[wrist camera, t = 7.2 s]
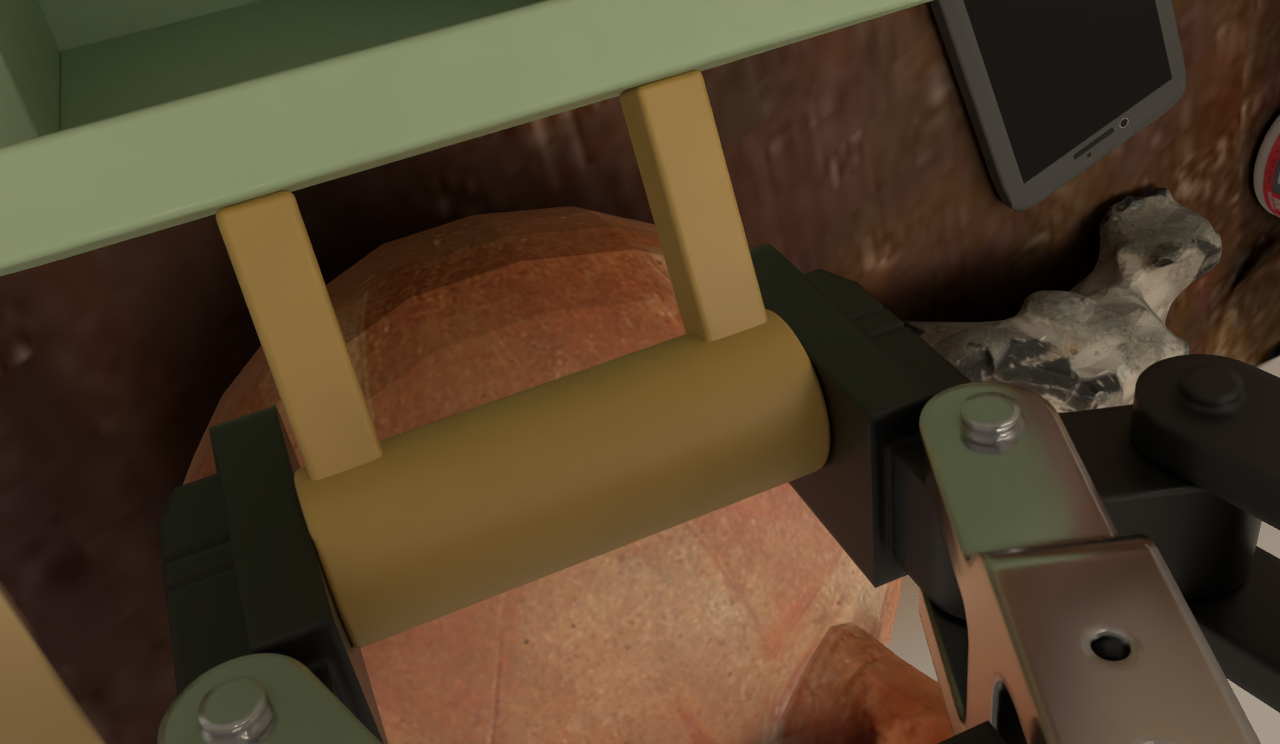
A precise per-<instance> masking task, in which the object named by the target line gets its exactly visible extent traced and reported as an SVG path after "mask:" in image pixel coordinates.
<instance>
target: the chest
mask: <svg viewBox="0 0 1280 744" xmlns="http://www.w3.org/2000/svg"><path fill="white" fill-rule="evenodd" d="M541 1H545V0H0V147H2V146H6V145H10V144H13V143H17V142H21V141H25V140H28V139H32V138H36V137H39V136H43V135H47V134H51V133H54V132H58V131H62V130H65V129H69V128H73V127H77V126H80V125H84V124H88V123H91V122H95V121H99V120H103V119H106V118H110V117H114V116H117V115H121V114H125V113H129V112H132V111H136V110H140V109H143V108H147V107H151V106H155V105H158V104H162V103H166V102H170V101H173V100H177V99H181V98H184V97H188V96H192V95H196V94H199V93H203V92H207V91H210V90H214V89H218V88H222V87H225V86H229V85H233V84H236V83H240V82H244V81H248V80H251V79H255V78H259V77H262V76H266V75H270V74H274V73H277V72H281V71H285V70H289V69H292V68H296V67H300V66H303V65H307V64H311V63H315V62H318V61H322V60H326V59H329V58H333V57H337V56H341V55H344V54H348V53H352V52H355V51H359V50H363V49H367V48H370V47H374V46H378V45H381V44H385V43H389V42H393V41H396V40H400V39H404V38H407V37H411V36H415V35H419V34H422V33H426V32H430V31H434V30H437V29H441V28H445V27H448V26H452V25H456V24H460V23H463V22H467V21H471V20H474V19H478V18H482V17H486V16H489V15H493V14H497V13H500V12H504V11H508V10H512V9H515V8H519V7H523V6H526V5H530V4H534V3H538V2H541Z"/></svg>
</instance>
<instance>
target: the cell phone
mask: <svg viewBox="0 0 1280 744" xmlns="http://www.w3.org/2000/svg"><path fill="white" fill-rule="evenodd" d="M930 5H931V8H932V11H933V14H934V16H935V19H936V22H937V25H938V28H939V31H940V34H941V36H942V39H943V42H944V45H945V48H946V51H947V54H948V56H949V59H950V62H951V65H952V68H953V71H954V74H955V77H956V79H957V82H958V85H959V88H960V91H961V94H962V97H963V99H964V102H965V105H966V108H967V111H968V114H969V117H970V120H971V122H972V125H973V128H974V131H975V134H976V137H977V140H978V142H979V145H980V148H981V151H982V154H983V157H984V160H985V163H986V165H987V168H988V171H989V174H990V177H991V179H992V182H993V184H994V186H995V188H996V191H997V193H998V195H999V197H1000V198H1001V200H1002V201H1003V202H1004V204H1005V205H1007V206H1008V207H1010V208H1012V209H1014V210H1016V211H1022V210H1026V209H1029V208H1030V207H1032V206H1034V205H1036V204H1038V203H1040V202H1041V201H1042V200H1044V199H1045V198H1047V197H1048V196H1049V195H1051V194H1052V193H1054V192H1055V191H1056V190H1058V189H1059V188H1061V187H1062V186H1064V185H1065V184H1066V183H1068V182H1069V181H1071V180H1072V179H1073V178H1075V177H1076V176H1078V175H1079V174H1080V173H1082V172H1083V171H1085V170H1086V169H1087V168H1089V167H1090V166H1092V165H1093V164H1094V163H1096V162H1097V161H1099V160H1100V159H1101V158H1103V157H1104V156H1106V155H1107V154H1109V153H1110V152H1111V151H1113V150H1114V149H1116V148H1117V147H1118V146H1120V145H1121V144H1123V143H1124V142H1125V141H1127V140H1128V139H1130V138H1131V137H1132V136H1134V135H1135V134H1137V133H1138V132H1139V131H1141V130H1142V129H1144V128H1145V127H1146V126H1148V125H1149V124H1151V123H1152V122H1154V121H1155V120H1156V119H1158V118H1159V117H1161V116H1162V115H1163V114H1165V113H1166V112H1167V111H1168V110H1169V109H1170V108H1171V107H1173V106H1174V105H1175V104H1176V103H1177V102H1178V101H1179V99H1180V98H1181V97H1182V96H1183V94H1184V90H1185V85H1186V78H1187V75H1186V70H1185V64H1184V59H1183V53H1182V48H1181V43H1180V38H1179V34H1178V29H1177V24H1176V19H1175V14H1174V10H1173V5H1172V0H933V1H930Z"/></svg>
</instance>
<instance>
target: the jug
mask: <svg viewBox="0 0 1280 744" xmlns="http://www.w3.org/2000/svg"><path fill="white" fill-rule="evenodd" d="M326 288H327V291H328V294H329V297H330V300H331V302H332V305H333V308H334V311H335V314H336V317H337V320H338V323H339V325H340V328H341V331H342V334H343V337H344V340H345V343H346V346H347V349H348V351H349V354H350V357H351V360H352V363H353V366H354V369H355V372H356V374H357V377H358V380H359V383H360V386H361V389H362V392H363V395H364V398H365V400H366V403H367V406H368V409H369V412H370V415H371V418H372V421H373V423H374V426H375V429H376V432H377V435H378V438H379V441H380V440H383V439H386V438H389V437H391V436H394V435H397V434H400V433H403V432H406V431H409V430H412V429H414V428H417V427H420V426H423V425H426V424H429V423H432V422H434V421H437V420H440V419H443V418H446V417H449V416H452V415H455V414H457V413H460V412H463V411H466V410H469V409H472V408H475V407H478V406H480V405H483V404H486V403H489V402H492V401H495V400H498V399H501V398H503V397H506V396H509V395H512V394H515V393H518V392H521V391H523V390H526V389H529V388H532V387H535V386H538V385H541V384H544V383H546V382H549V381H552V380H555V379H558V378H561V377H564V376H567V375H569V374H572V373H575V372H578V371H581V370H584V369H587V368H590V367H592V366H595V365H598V364H601V363H604V362H607V361H610V360H612V359H615V358H618V357H621V356H624V355H627V354H630V353H633V352H635V351H638V350H641V349H644V348H647V347H650V346H653V345H656V344H658V343H661V342H664V341H667V340H670V339H673V338H676V337H679V336H681V335H684V334H686V332H685V329H684V325H683V322H682V318H681V315H680V311H679V308H678V304H677V301H676V297H675V294H674V290H673V286H672V283H671V279H670V276H669V272H668V269H667V265H666V262H665V258H664V255H663V251H662V248H661V244H660V241H659V237H658V234H657V230H656V227H655V224H651V223H646V222H642V221H637V220H633V219H628V218H623V217H619V216H614V215H610V214H605V213H601V212H596V211H591V210H587V209H582V208H578V207H573V206H566V207H555V208H544V209H533V210H522V211H511V212H500V213H489V214H477V215H472V216H469V217H466V218H463V219H460V220H457V221H453V222H450V223H447V224H444V225H441V226H438V227H435V228H431V229H428V230H425V231H422V232H419V233H416V234H412V235H409V236H406V237H403V238H400V239H397V240H394V241H390V242H387V243H384V244H382V245H380V246H379V247H378V248H376V249H375V250H374V251H372V252H371V253H369V254H368V255H367V256H365V257H364V258H363V259H361V260H360V261H358V262H357V263H356V264H354V265H353V266H352V267H350V268H349V269H347V270H346V271H345V272H343V273H342V274H340V275H339V276H338V277H336V278H335V279H334V280H332V281H331V282H329V283H328V284H327V285H326ZM274 405H276V407H277V409H278V411H279V414H280V416H281V418H282V421H283V424H284V426H285V429H286V431H287V434H288V436H289V439H290V442H291V444H292V447H293V449H294V452H295V455H296V457H297V460H298V462H299V465H300V467H301V468H302V467H305V464H304V461H303V458H302V455H301V453H300V450H299V447H298V444H297V442H296V439H295V436H294V433H293V431H292V428H291V425H290V422H289V420H288V417H287V414H286V411H285V409H284V406H283V403H282V400H281V398H280V395H279V392H278V389H277V387H276V384H275V381H274V378H273V376H272V373H271V370H270V367H269V364H268V362H267V359H266V356H265V353H264V351H263V348H262V345H261V346H260V348H259V349H258V350H257V351H256V353H255V354H254V355H253V357H252V358H251V359H250V360H249V362H248V363H247V364H246V366H245V367H244V368H243V369H242V371H241V372H240V373H239V375H238V376H237V377H236V378H235V380H234V381H233V382H232V384H231V385H230V386H229V387H228V389H227V390H226V391H225V393H224V394H223V395H222V397H221V399H220V401H219V403H218V405H217V407H216V410H215V412H214V414H213V416H212V418H211V420H210V422H209V424H208V427H207V429H206V431H205V433H204V435H203V437H202V439H201V442H200V444H199V446H198V448H197V450H196V452H195V454H194V457H193V459H192V462H191V464H190V467H189V470H188V472H187V475H186V477H185V480H184V482H183V485H184V484H187V483H190V482H193V481H196V480H199V479H202V478H205V477H208V476H211V475H214V474H217V471H216V465H215V460H214V455H213V449H212V444H211V439H210V433H209V427H211V426H214V425H217V424H220V423H223V422H226V421H229V420H232V419H235V418H238V417H241V416H244V415H247V414H250V413H253V412H256V411H259V410H262V409H265V408H268V407H271V406H274ZM901 584H902V577H901V578H898V579H896V580H894V581H891V582H889V583H886V584H884V585H882V586H879V587H877V588H875V587H874V586H873V585H872V584H871V582H870V581H869V580H868V579H867V578H866V576H865V575H864V574H863V573H862V571H861V570H860V569H859V568H858V567H857V565H856V564H855V563H854V562H853V560H852V559H851V558H850V557H849V556H848V554H847V553H846V552H845V551H844V550H843V548H842V547H841V546H840V545H839V543H838V542H837V541H836V540H835V539H834V537H833V536H832V535H831V534H830V533H829V531H828V530H827V529H826V528H825V526H824V525H823V524H822V523H821V522H820V520H819V519H818V518H817V517H816V516H815V514H814V513H813V512H812V511H811V509H810V508H809V507H808V506H807V505H806V503H805V502H804V501H803V500H802V498H801V497H800V496H799V495H798V494H797V492H796V491H795V490H794V489H793V488H792V486H791V485H790V484H789V483H785V484H782V485H780V486H777V487H775V488H772V489H770V490H767V491H764V492H762V493H759V494H757V495H754V496H752V497H749V498H746V499H744V500H741V501H739V502H736V503H733V504H731V505H728V506H726V507H723V508H721V509H718V510H715V511H713V512H710V513H708V514H705V515H703V516H700V517H697V518H695V519H692V520H690V521H687V522H685V523H682V524H679V525H677V526H674V527H672V528H669V529H667V530H664V531H661V532H659V533H656V534H654V535H651V536H649V537H646V538H643V539H641V540H638V541H636V542H633V543H631V544H628V545H625V546H623V547H620V548H618V549H615V550H613V551H610V552H607V553H605V554H602V555H600V556H597V557H594V558H592V559H589V560H587V561H584V562H582V563H579V564H576V565H574V566H571V567H569V568H566V569H564V570H561V571H558V572H556V573H553V574H551V575H548V576H546V577H543V578H540V579H538V580H535V581H533V582H530V583H528V584H525V585H522V586H520V587H517V588H515V589H512V590H510V591H507V592H504V593H502V594H499V595H497V596H494V597H492V598H489V599H486V600H484V601H481V602H479V603H476V604H474V605H471V606H468V607H466V608H463V609H461V610H458V611H456V612H453V613H450V614H448V615H445V616H443V617H440V618H437V619H435V620H432V621H430V622H427V623H425V624H422V625H419V626H417V627H414V628H412V629H409V630H407V631H404V632H401V633H399V634H396V635H394V636H391V637H389V638H386V639H383V640H381V641H378V642H376V643H373V644H371V645H368V646H365V647H363V648H360V649H361V652H362V656H363V659H364V663H365V666H366V670H367V673H368V676H369V680H370V683H371V687H372V690H373V693H374V697H375V700H376V704H377V707H378V710H379V714H380V717H381V721H382V724H383V728H384V731H385V734H386V738H387V741H388V744H937V743H939V742H942V741H944V740H946V739H948V738H950V737H953V736H954V735H953V731H952V728H951V724H950V721H949V717H948V714H947V710H946V707H945V703H944V700H943V696H942V693H941V689H940V686H939V683H938V682H937V681H935V680H933V679H931V678H930V677H928V676H927V675H925V674H924V673H922V672H920V671H919V670H918V669H916V668H915V667H913V666H912V665H910V664H908V663H907V662H905V661H904V660H902V659H901V658H899V657H898V656H897V655H895V654H894V653H893V652H892V651H891V650H889V649H888V648H887V647H886V646H887V644H888V642H889V640H890V636H891V632H892V628H893V624H894V620H895V616H896V612H897V608H898V604H899V598H900V590H901Z"/></svg>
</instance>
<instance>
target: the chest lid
mask: <svg viewBox="0 0 1280 744" xmlns="http://www.w3.org/2000/svg"><path fill="white" fill-rule="evenodd" d="M930 1H933V0H545V1H541V2H538V3H534V4H530V5H526V6H523V7H519V8H515V9H512V10H508V11H504V12H500V13H497V14H493V15H489V16H486V17H482V18H478V19H474V20H471V21H467V22H463V23H460V24H456V25H452V26H448V27H445V28H441V29H437V30H434V31H430V32H426V33H422V34H419V35H415V36H411V37H407V38H404V39H400V40H396V41H393V42H389V43H385V44H381V45H378V46H374V47H370V48H367V49H363V50H359V51H355V52H352V53H348V54H344V55H341V56H337V57H333V58H329V59H326V60H322V61H318V62H315V63H311V64H307V65H303V66H300V67H296V68H292V69H289V70H285V71H281V72H277V73H274V74H270V75H266V76H262V77H259V78H255V79H251V80H248V81H244V82H240V83H236V84H233V85H229V86H225V87H222V88H218V89H214V90H210V91H207V92H203V93H199V94H196V95H192V96H188V97H184V98H181V99H177V100H173V101H170V102H166V103H162V104H158V105H155V106H151V107H147V108H143V109H140V110H136V111H132V112H129V113H125V114H121V115H117V116H114V117H110V118H106V119H103V120H99V121H95V122H91V123H88V124H84V125H80V126H77V127H73V128H69V129H65V130H62V131H58V132H54V133H51V134H47V135H43V136H39V137H36V138H32V139H28V140H25V141H21V142H17V143H13V144H10V145H6V146H2V147H0V276H3V275H7V274H11V273H14V272H18V271H22V270H25V269H29V268H33V267H36V266H40V265H44V264H47V263H50V262H54V261H57V260H61V259H64V258H67V257H71V256H74V255H78V254H81V253H84V252H88V251H91V250H95V249H98V248H102V247H105V246H108V245H112V244H115V243H119V242H122V241H125V240H129V239H132V238H136V237H139V236H142V235H146V234H149V233H153V232H156V231H159V230H163V229H166V228H170V227H173V226H177V225H180V224H183V223H187V222H190V221H194V220H197V219H200V218H204V217H207V216H211V215H214V214H216V221H217V224H218V227H219V229H220V232H221V235H222V238H223V240H224V243H225V246H226V249H227V251H228V254H229V257H230V260H231V263H232V265H233V268H234V271H235V274H236V276H237V279H238V282H239V285H240V287H241V290H242V293H243V296H244V298H245V301H246V304H247V307H248V309H249V312H250V315H251V318H252V320H253V323H254V326H255V329H256V331H257V334H258V337H259V340H260V342H261V345H262V348H263V351H264V353H265V356H266V359H267V362H268V364H269V367H270V370H271V373H272V376H273V378H274V381H275V384H276V387H277V389H278V392H279V395H280V398H281V400H282V403H283V406H284V409H285V411H286V414H287V417H288V420H289V422H290V425H291V428H292V431H293V433H294V436H295V439H296V442H297V444H298V447H299V450H300V453H301V455H302V458H303V461H304V464H305V467H302V468H300V469H298V470H297V471H296V472H295V473H294V483H295V488H296V492H297V495H298V499H299V502H300V506H301V509H302V512H303V516H304V519H305V522H306V525H307V528H308V531H309V534H310V536H311V539H312V542H313V545H314V548H315V551H316V554H317V557H318V560H319V562H320V565H321V568H322V571H323V574H324V577H325V579H326V582H327V585H328V588H329V590H330V593H331V596H332V598H333V601H334V604H335V606H336V609H337V612H338V614H339V617H340V619H341V622H342V624H343V626H344V629H345V631H346V633H347V636H348V638H349V640H350V641H351V643H352V644H353V645H354V646H355V647H356V648H363V647H365V646H368V645H371V644H373V643H376V642H378V641H381V640H383V639H386V638H389V637H391V636H394V635H396V634H399V633H401V632H404V631H407V630H409V629H412V628H414V627H417V626H419V625H422V624H425V623H427V622H430V621H432V620H435V619H437V618H440V617H443V616H445V615H448V614H450V613H453V612H456V611H458V610H461V609H463V608H466V607H468V606H471V605H474V604H476V603H479V602H481V601H484V600H486V599H489V598H492V597H494V596H497V595H499V594H502V593H504V592H507V591H510V590H512V589H515V588H517V587H520V586H522V585H525V584H528V583H530V582H533V581H535V580H538V579H540V578H543V577H546V576H548V575H551V574H553V573H556V572H558V571H561V570H564V569H566V568H569V567H571V566H574V565H576V564H579V563H582V562H584V561H587V560H589V559H592V558H594V557H597V556H600V555H602V554H605V553H607V552H610V551H613V550H615V549H618V548H620V547H623V546H625V545H628V544H631V543H633V542H636V541H638V540H641V539H643V538H646V537H649V536H651V535H654V534H656V533H659V532H661V531H664V530H667V529H669V528H672V527H674V526H677V525H679V524H682V523H685V522H687V521H690V520H692V519H695V518H697V517H700V516H703V515H705V514H708V513H710V512H713V511H715V510H718V509H721V508H723V507H726V506H728V505H731V504H733V503H736V502H739V501H741V500H744V499H746V498H749V497H752V496H754V495H757V494H759V493H762V492H764V491H767V490H770V489H772V488H775V487H777V486H780V485H782V484H785V483H788V482H790V481H793V480H795V479H798V478H800V477H803V476H806V475H808V474H811V473H813V472H816V471H818V470H819V469H821V468H822V467H823V466H824V465H825V463H826V462H827V460H828V457H829V453H830V444H831V436H830V424H829V418H828V412H827V408H826V404H825V400H824V396H823V393H822V389H821V387H820V384H819V381H818V378H817V376H816V373H815V371H814V368H813V366H812V364H811V362H810V359H809V357H808V356H807V354H806V352H805V350H804V348H803V346H802V345H801V343H800V341H799V339H798V338H797V337H796V335H795V334H794V332H793V331H792V329H791V328H790V327H789V326H788V324H787V323H786V322H785V321H784V320H783V319H782V318H781V317H780V316H778V315H777V314H776V313H774V312H772V311H770V310H767V309H765V307H764V304H763V300H762V296H761V292H760V289H759V285H758V281H757V277H756V274H755V270H754V266H753V262H752V259H751V255H750V251H749V248H748V244H747V240H746V236H745V233H744V229H743V225H742V221H741V218H740V214H739V210H738V206H737V203H736V199H735V195H734V191H733V188H732V184H731V180H730V177H729V173H728V169H727V165H726V162H725V158H724V154H723V150H722V147H721V143H720V139H719V135H718V132H717V128H716V124H715V120H714V117H713V113H712V109H711V106H710V102H709V98H708V94H707V91H706V87H705V83H704V79H703V76H702V74H701V72H700V71H703V70H707V69H710V68H713V67H716V66H720V65H723V64H726V63H730V62H733V61H736V60H739V59H743V58H746V57H749V56H752V55H756V54H759V53H762V52H766V51H769V50H772V49H775V48H779V47H782V46H785V45H789V44H792V43H795V42H798V41H802V40H805V39H808V38H812V37H815V36H818V35H821V34H825V33H828V32H831V31H834V30H838V29H841V28H844V27H848V26H851V25H854V24H857V23H861V22H864V21H867V20H871V19H874V18H877V17H880V16H884V15H887V14H890V13H893V12H897V11H900V10H903V9H907V8H910V7H913V6H916V5H920V4H923V3H926V2H930ZM616 96H620V98H619V100H620V103H621V107H622V110H623V114H624V117H625V121H626V124H627V128H628V131H629V135H630V138H631V142H632V145H633V149H634V152H635V156H636V160H637V163H638V167H639V170H640V174H641V177H642V181H643V184H644V188H645V191H646V195H647V198H648V202H649V205H650V209H651V212H652V216H653V219H654V223H655V227H656V230H657V234H658V237H659V241H660V244H661V248H662V251H663V255H664V258H665V262H666V265H667V269H668V272H669V276H670V279H671V283H672V286H673V290H674V294H675V297H676V301H677V304H678V308H679V311H680V315H681V318H682V322H683V325H684V329H685V332H686V334H684V335H681V336H679V337H676V338H673V339H670V340H667V341H664V342H661V343H658V344H656V345H653V346H650V347H647V348H644V349H641V350H638V351H635V352H633V353H630V354H627V355H624V356H621V357H618V358H615V359H612V360H610V361H607V362H604V363H601V364H598V365H595V366H592V367H590V368H587V369H584V370H581V371H578V372H575V373H572V374H569V375H567V376H564V377H561V378H558V379H555V380H552V381H549V382H546V383H544V384H541V385H538V386H535V387H532V388H529V389H526V390H523V391H521V392H518V393H515V394H512V395H509V396H506V397H503V398H501V399H498V400H495V401H492V402H489V403H486V404H483V405H480V406H478V407H475V408H472V409H469V410H466V411H463V412H460V413H457V414H455V415H452V416H449V417H446V418H443V419H440V420H437V421H434V422H432V423H429V424H426V425H423V426H420V427H417V428H414V429H412V430H409V431H406V432H403V433H400V434H397V435H394V436H391V437H389V438H386V439H383V440H380V441H379V438H378V435H377V432H376V429H375V426H374V423H373V421H372V418H371V415H370V412H369V409H368V406H367V403H366V400H365V398H364V395H363V392H362V389H361V386H360V383H359V380H358V377H357V374H356V372H355V369H354V366H353V363H352V360H351V357H350V354H349V351H348V349H347V346H346V343H345V340H344V337H343V334H342V331H341V328H340V325H339V323H338V320H337V317H336V314H335V311H334V308H333V305H332V302H331V300H330V297H329V294H328V291H327V288H326V285H325V282H324V279H323V277H322V274H321V271H320V268H319V265H318V262H317V259H316V256H315V253H314V251H313V248H312V245H311V242H310V239H309V236H308V233H307V230H306V228H305V225H304V222H303V219H302V216H301V213H300V210H299V207H298V204H297V202H296V199H295V196H294V195H293V194H292V191H296V190H299V189H303V188H306V187H310V186H313V185H316V184H320V183H323V182H327V181H330V180H333V179H337V178H340V177H344V176H347V175H350V174H354V173H357V172H361V171H364V170H368V169H371V168H374V167H378V166H381V165H385V164H388V163H391V162H395V161H398V160H402V159H405V158H408V157H412V156H415V155H419V154H422V153H425V152H429V151H432V150H436V149H439V148H443V147H446V146H449V145H453V144H456V143H460V142H463V141H466V140H470V139H473V138H477V137H480V136H483V135H487V134H490V133H494V132H497V131H501V130H504V129H507V128H511V127H514V126H518V125H521V124H524V123H528V122H531V121H535V120H538V119H541V118H545V117H548V116H552V115H555V114H559V113H562V112H565V111H569V110H572V109H576V108H579V107H582V106H586V105H589V104H593V103H596V102H599V101H603V100H606V99H610V98H613V97H616Z"/></svg>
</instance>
